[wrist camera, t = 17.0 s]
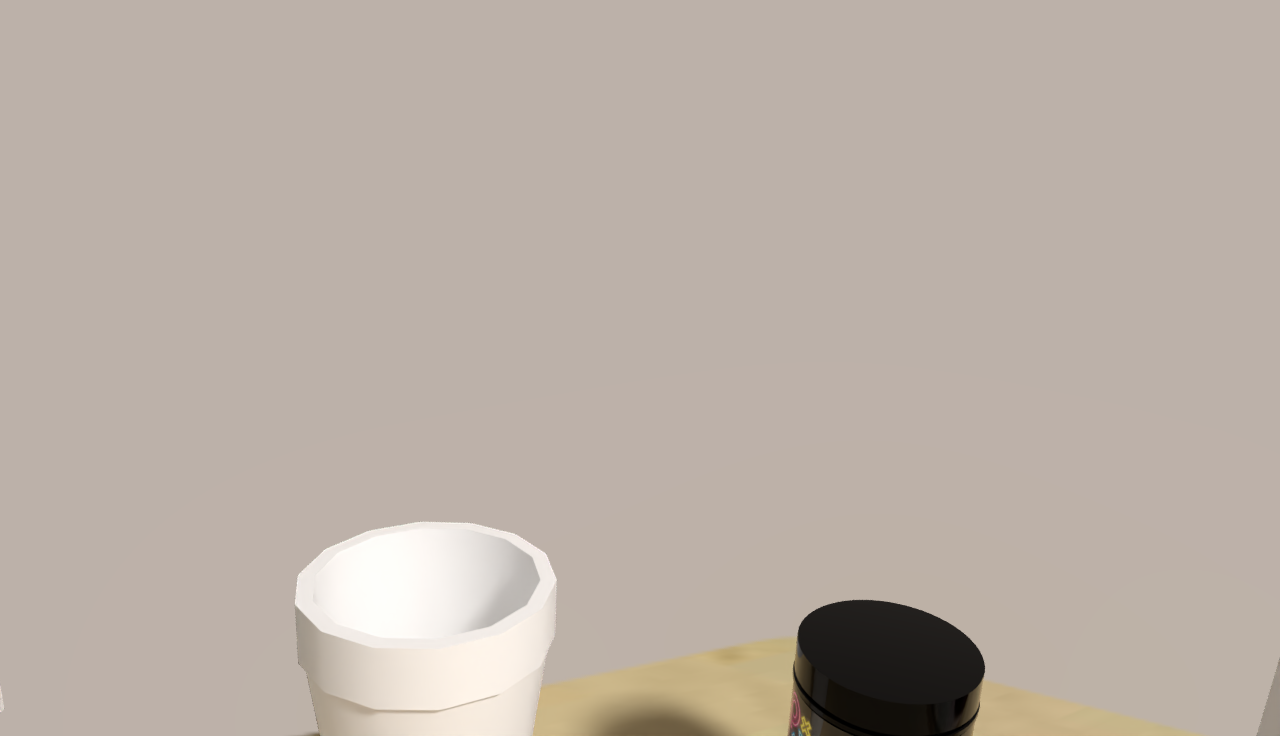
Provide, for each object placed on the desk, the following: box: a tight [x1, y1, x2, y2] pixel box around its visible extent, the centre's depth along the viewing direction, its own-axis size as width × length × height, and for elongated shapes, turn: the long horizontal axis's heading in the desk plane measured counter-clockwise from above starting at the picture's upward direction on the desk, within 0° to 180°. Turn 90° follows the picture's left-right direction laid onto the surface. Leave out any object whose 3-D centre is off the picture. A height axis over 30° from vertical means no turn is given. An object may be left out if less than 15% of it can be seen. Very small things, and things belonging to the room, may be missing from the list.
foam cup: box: [295, 522, 557, 736], centre depth 38 cm, size 10×9×13 cm
